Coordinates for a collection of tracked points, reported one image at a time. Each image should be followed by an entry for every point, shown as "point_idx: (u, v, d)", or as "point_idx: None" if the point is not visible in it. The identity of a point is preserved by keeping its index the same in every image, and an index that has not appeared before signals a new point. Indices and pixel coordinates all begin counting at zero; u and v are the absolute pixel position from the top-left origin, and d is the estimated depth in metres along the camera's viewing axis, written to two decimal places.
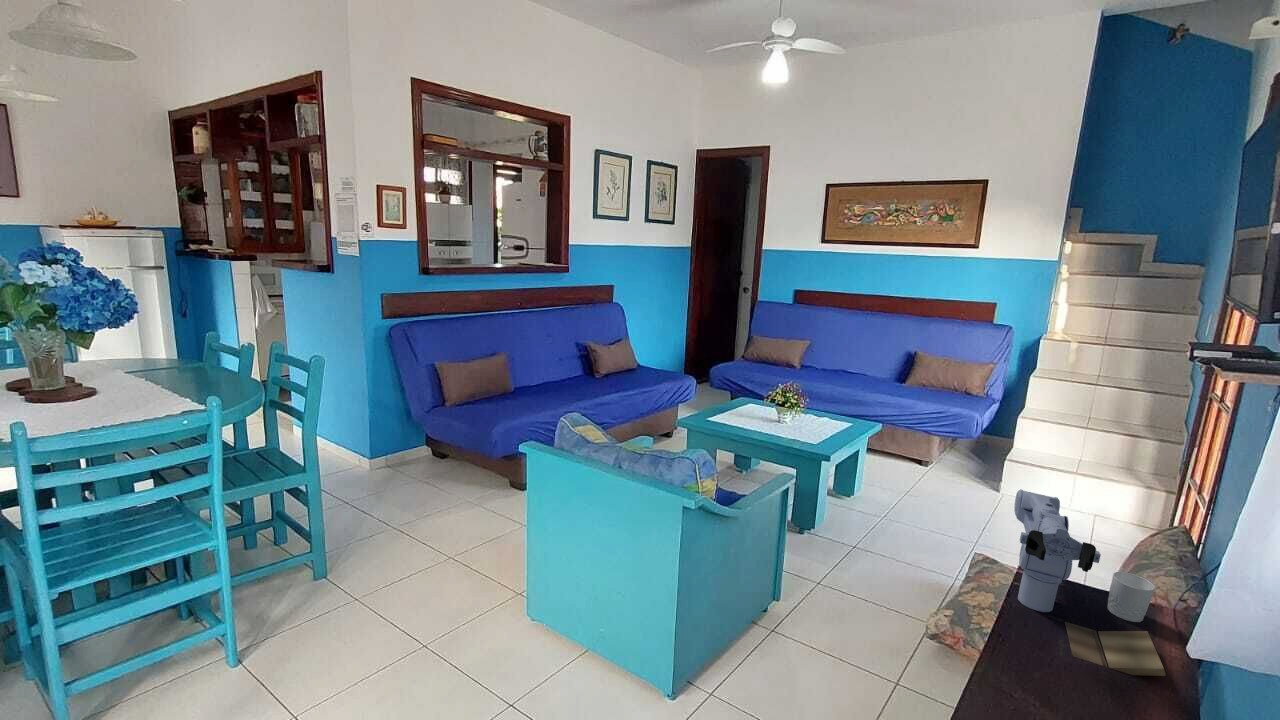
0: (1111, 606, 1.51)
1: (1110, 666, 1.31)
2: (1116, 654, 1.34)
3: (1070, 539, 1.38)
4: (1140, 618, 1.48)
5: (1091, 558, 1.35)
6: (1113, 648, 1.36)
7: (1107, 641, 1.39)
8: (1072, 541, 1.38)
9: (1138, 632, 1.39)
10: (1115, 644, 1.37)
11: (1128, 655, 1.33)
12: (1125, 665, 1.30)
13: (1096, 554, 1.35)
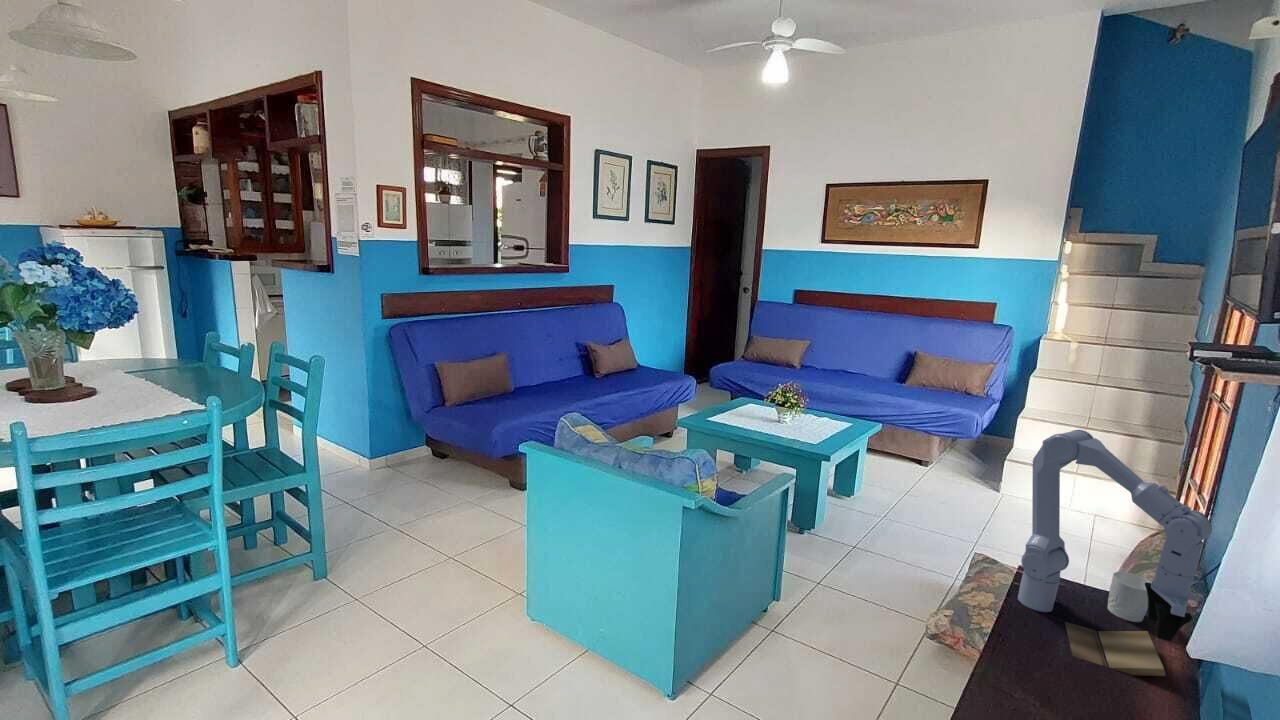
0: (1111, 606, 1.51)
1: (1110, 666, 1.31)
2: (1116, 654, 1.34)
3: None
4: (1140, 618, 1.48)
5: None
6: (1113, 648, 1.36)
7: (1107, 641, 1.39)
8: None
9: (1138, 632, 1.39)
10: (1115, 644, 1.37)
11: (1128, 655, 1.33)
12: (1125, 665, 1.30)
13: None
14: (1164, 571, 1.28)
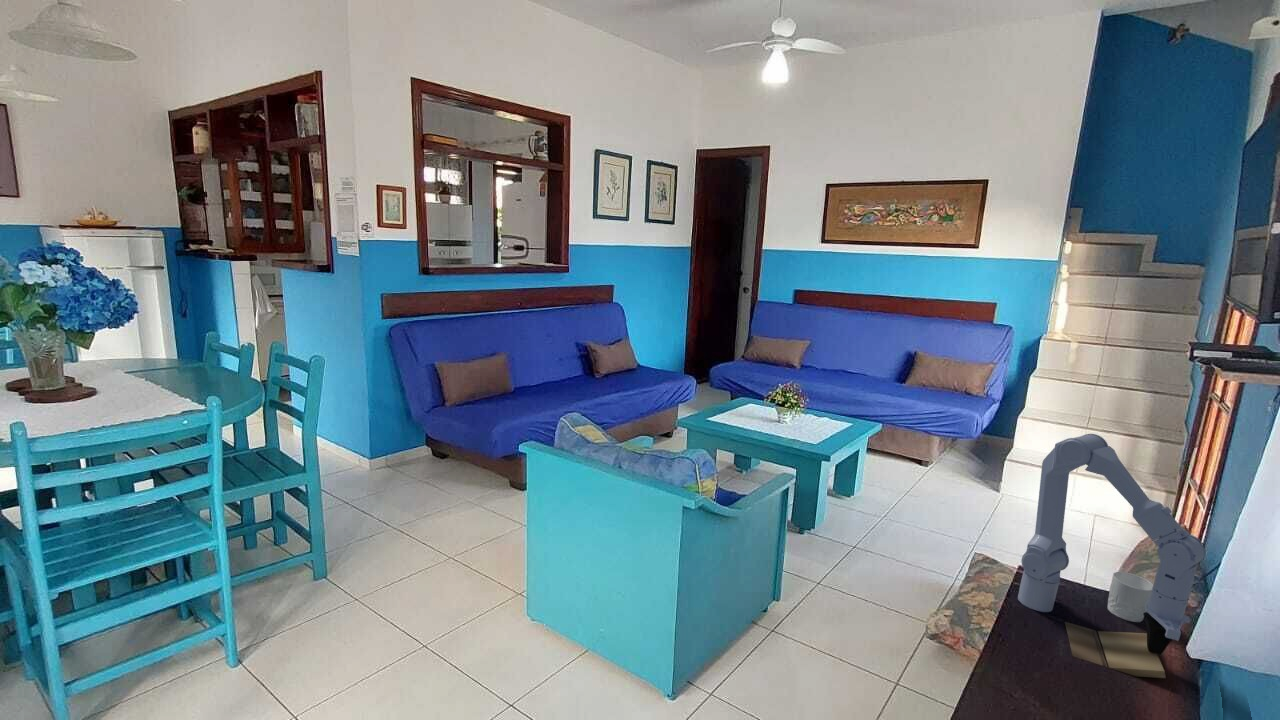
0: (1111, 606, 1.51)
1: (1110, 666, 1.31)
2: (1116, 655, 1.34)
3: None
4: (1140, 618, 1.48)
5: None
6: (1113, 649, 1.36)
7: (1108, 641, 1.39)
8: None
9: (1138, 634, 1.39)
10: (1115, 645, 1.37)
11: (1128, 656, 1.33)
12: (1125, 665, 1.30)
13: None
14: (1158, 594, 1.29)
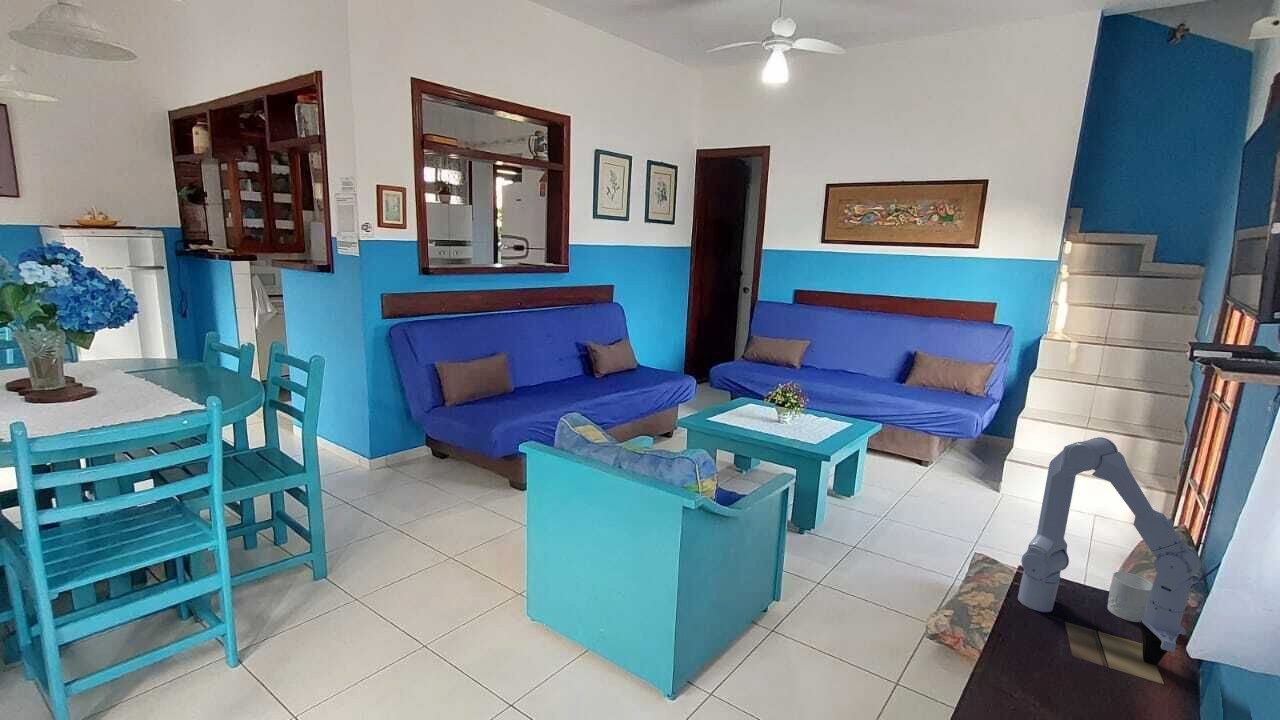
0: (1111, 606, 1.51)
1: (1110, 666, 1.31)
2: (1116, 657, 1.34)
3: None
4: (1140, 618, 1.48)
5: None
6: (1113, 651, 1.36)
7: (1107, 643, 1.39)
8: None
9: (1138, 643, 1.40)
10: (1115, 648, 1.37)
11: (1128, 661, 1.33)
12: (1125, 669, 1.31)
13: None
14: (1154, 606, 1.30)
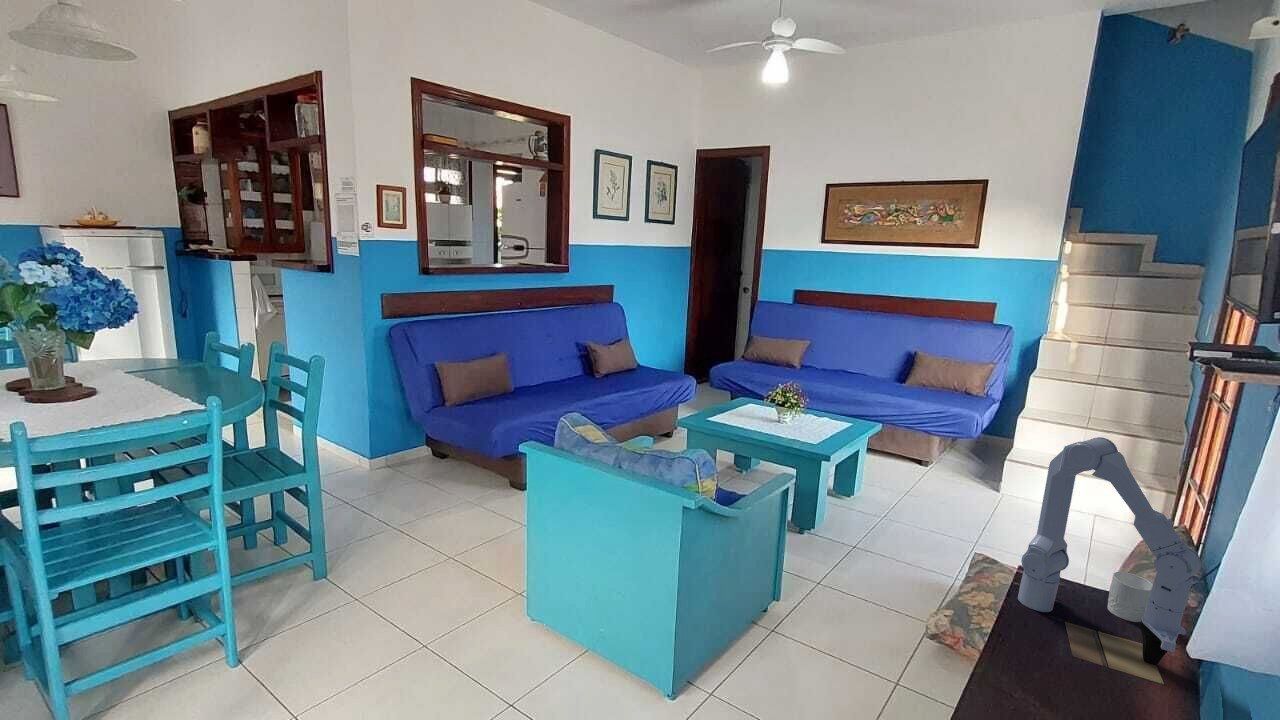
0: (1111, 606, 1.51)
1: (1110, 666, 1.31)
2: (1116, 657, 1.34)
3: None
4: (1140, 618, 1.48)
5: None
6: (1113, 651, 1.36)
7: (1107, 643, 1.39)
8: None
9: (1138, 643, 1.40)
10: (1115, 648, 1.37)
11: (1128, 661, 1.33)
12: (1125, 669, 1.31)
13: None
14: (1154, 606, 1.30)
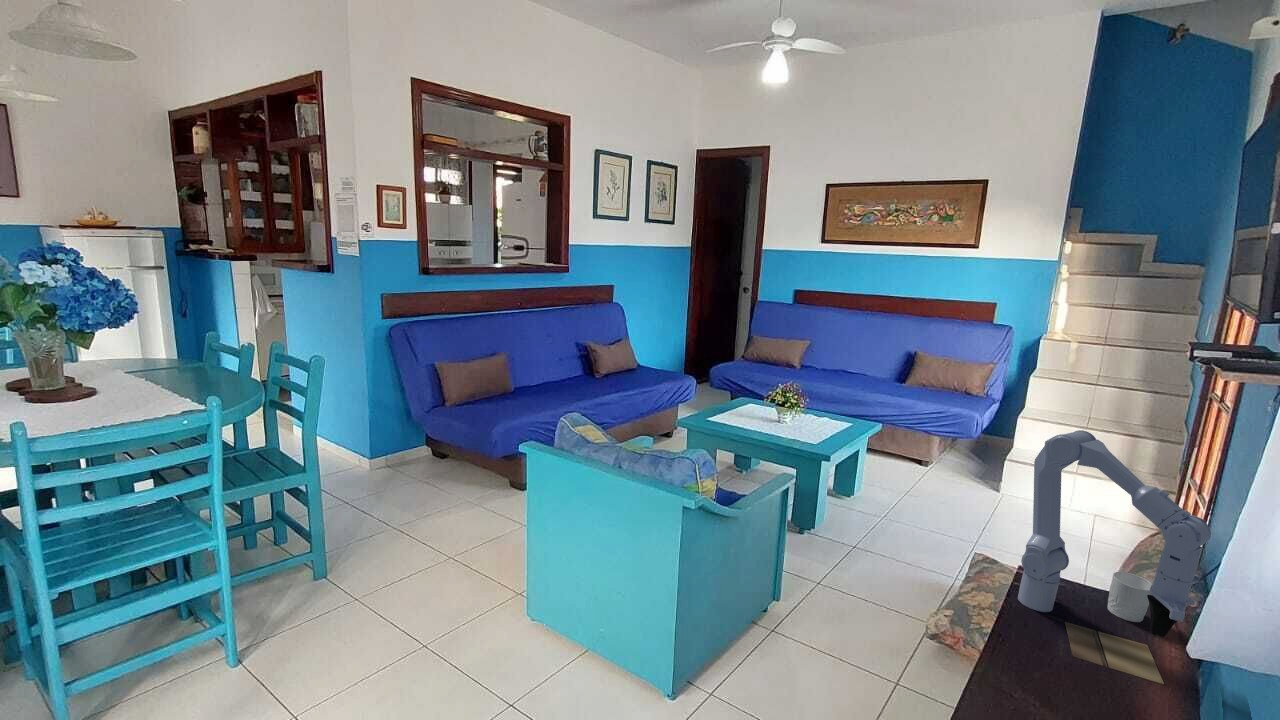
0: (1111, 606, 1.51)
1: (1110, 666, 1.31)
2: (1116, 657, 1.34)
3: None
4: (1140, 618, 1.48)
5: None
6: (1113, 651, 1.36)
7: (1107, 643, 1.39)
8: None
9: (1138, 643, 1.40)
10: (1115, 648, 1.37)
11: (1128, 661, 1.33)
12: (1125, 669, 1.31)
13: None
14: (1163, 576, 1.29)
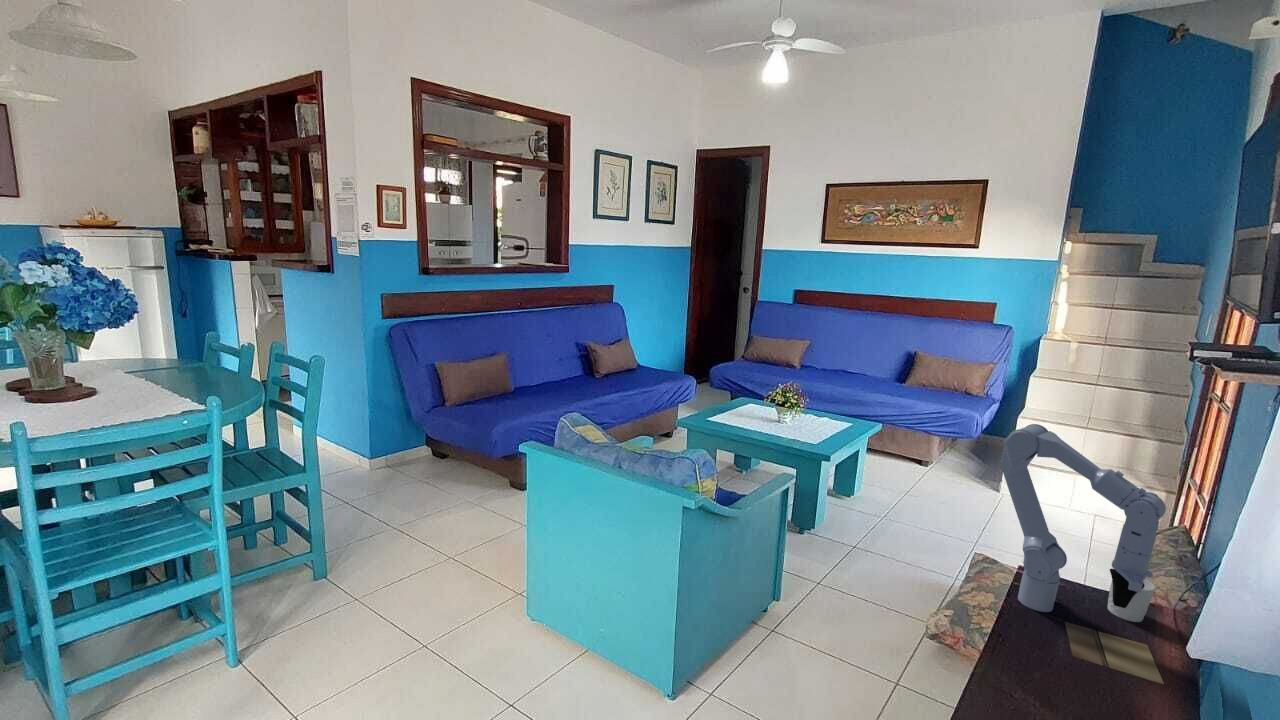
0: (1111, 606, 1.51)
1: (1110, 666, 1.31)
2: (1116, 657, 1.34)
3: None
4: (1140, 618, 1.48)
5: None
6: (1113, 651, 1.36)
7: (1107, 643, 1.39)
8: None
9: (1138, 643, 1.40)
10: (1115, 648, 1.37)
11: (1128, 661, 1.33)
12: (1125, 669, 1.31)
13: None
14: (1123, 550, 1.36)
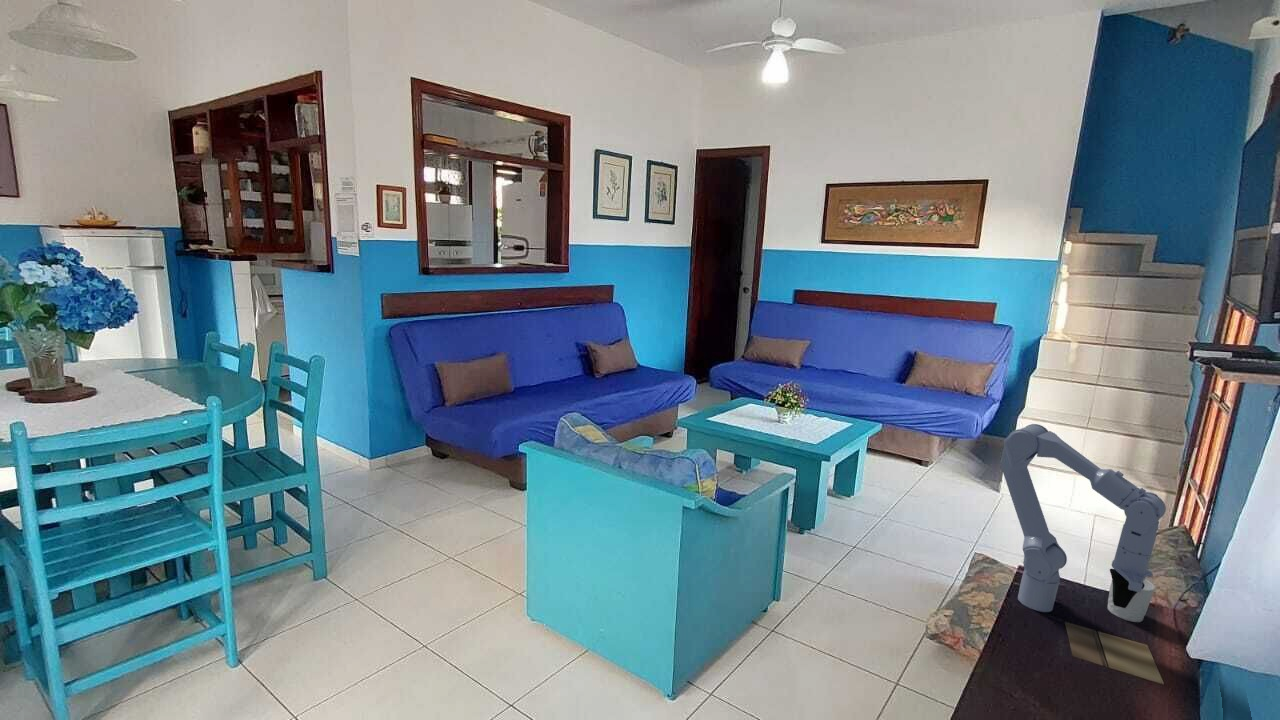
0: (1111, 606, 1.51)
1: (1110, 666, 1.31)
2: (1116, 657, 1.34)
3: None
4: (1140, 618, 1.48)
5: None
6: (1113, 651, 1.36)
7: (1107, 643, 1.39)
8: None
9: (1138, 643, 1.40)
10: (1115, 648, 1.37)
11: (1128, 661, 1.33)
12: (1125, 669, 1.31)
13: None
14: (1123, 550, 1.36)
